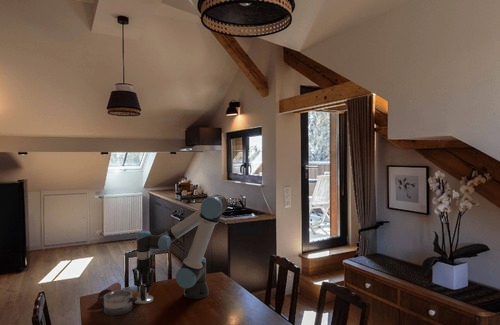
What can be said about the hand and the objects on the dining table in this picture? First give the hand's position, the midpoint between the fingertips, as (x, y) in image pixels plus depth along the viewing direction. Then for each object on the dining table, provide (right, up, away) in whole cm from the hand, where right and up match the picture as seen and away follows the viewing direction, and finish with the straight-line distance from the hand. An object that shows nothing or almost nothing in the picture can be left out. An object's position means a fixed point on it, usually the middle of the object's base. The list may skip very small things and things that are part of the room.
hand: (143, 297), depth 203 cm
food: (-19, -2, +3) cm, 20 cm away
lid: (0, -2, 0) cm, 2 cm away
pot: (-10, -2, -13) cm, 16 cm away
